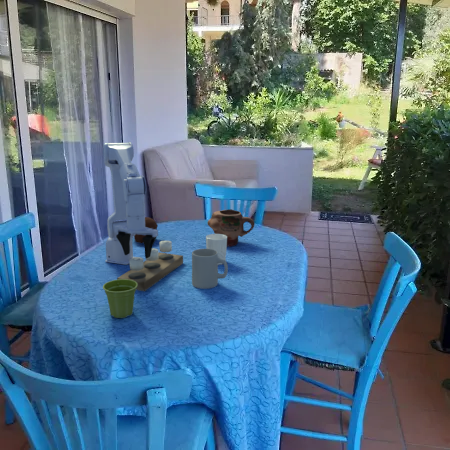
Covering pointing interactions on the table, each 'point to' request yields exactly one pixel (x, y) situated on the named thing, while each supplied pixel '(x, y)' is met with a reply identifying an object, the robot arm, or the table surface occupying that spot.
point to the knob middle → (153, 255)
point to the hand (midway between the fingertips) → (137, 255)
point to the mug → (206, 268)
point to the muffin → (148, 223)
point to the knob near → (136, 263)
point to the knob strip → (153, 270)
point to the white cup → (217, 244)
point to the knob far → (165, 246)
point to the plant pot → (120, 297)
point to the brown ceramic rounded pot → (230, 225)
